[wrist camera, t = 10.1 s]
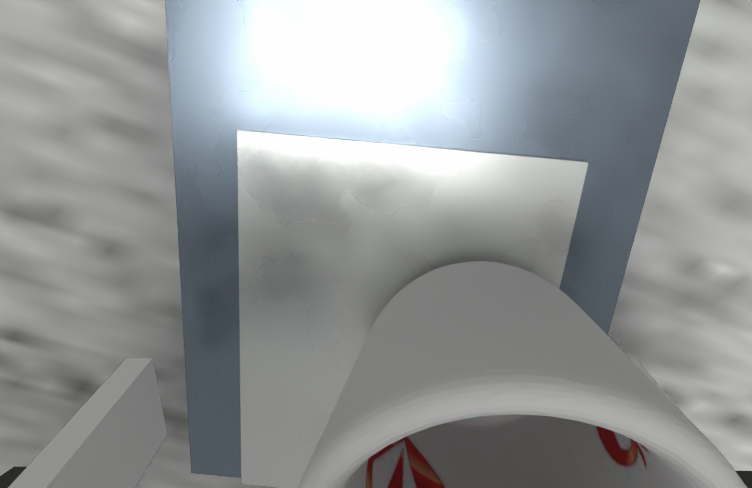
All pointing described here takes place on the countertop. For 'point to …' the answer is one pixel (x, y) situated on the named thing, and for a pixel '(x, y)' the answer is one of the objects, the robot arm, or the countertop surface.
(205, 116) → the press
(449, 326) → the cup
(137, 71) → the countertop surface
